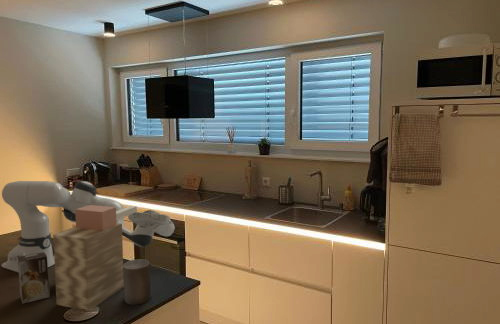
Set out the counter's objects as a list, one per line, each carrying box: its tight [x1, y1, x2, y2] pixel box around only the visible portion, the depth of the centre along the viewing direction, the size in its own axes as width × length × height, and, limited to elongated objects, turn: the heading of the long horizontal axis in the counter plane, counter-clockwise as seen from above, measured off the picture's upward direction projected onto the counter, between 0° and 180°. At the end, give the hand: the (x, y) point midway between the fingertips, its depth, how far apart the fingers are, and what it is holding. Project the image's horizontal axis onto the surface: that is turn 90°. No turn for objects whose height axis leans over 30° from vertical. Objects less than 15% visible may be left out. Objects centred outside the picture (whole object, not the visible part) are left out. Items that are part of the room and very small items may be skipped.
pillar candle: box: [123, 258, 152, 306], centre depth 140 cm, size 10×10×15 cm
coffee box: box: [18, 252, 51, 305], centre depth 140 cm, size 9×6×16 cm
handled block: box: [75, 205, 138, 231], centre depth 153 cm, size 12×28×7 cm, turn 163°
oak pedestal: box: [52, 223, 124, 311], centre depth 142 cm, size 14×20×26 cm
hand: (141, 213), depth 172 cm, fingers open, 8 cm apart
